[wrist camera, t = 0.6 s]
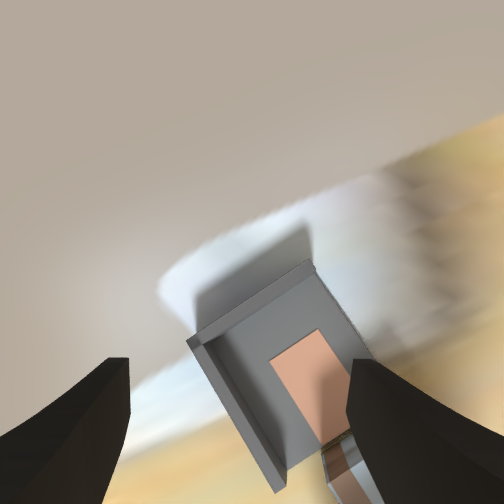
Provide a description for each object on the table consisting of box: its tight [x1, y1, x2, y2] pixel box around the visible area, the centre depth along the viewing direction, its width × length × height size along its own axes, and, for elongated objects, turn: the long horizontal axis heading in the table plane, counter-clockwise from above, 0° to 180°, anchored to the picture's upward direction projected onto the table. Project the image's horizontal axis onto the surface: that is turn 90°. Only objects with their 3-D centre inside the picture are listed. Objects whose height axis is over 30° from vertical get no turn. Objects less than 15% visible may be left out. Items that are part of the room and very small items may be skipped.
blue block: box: [321, 434, 385, 504], centre depth 27 cm, size 4×7×6 cm, turn 124°
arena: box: [186, 259, 376, 493], centre depth 31 cm, size 13×12×3 cm
